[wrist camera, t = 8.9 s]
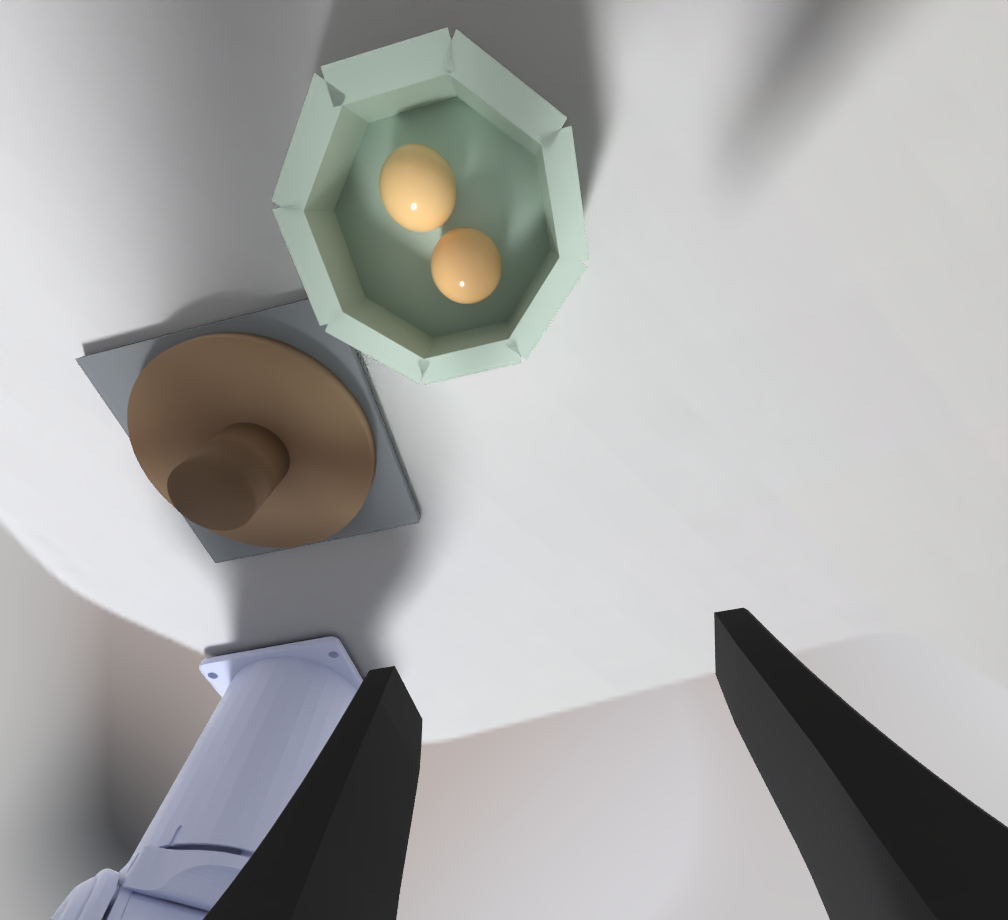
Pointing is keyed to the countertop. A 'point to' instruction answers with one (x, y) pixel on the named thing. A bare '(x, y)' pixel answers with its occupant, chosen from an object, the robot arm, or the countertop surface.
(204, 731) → the robot arm
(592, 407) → the countertop surface
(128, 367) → the mat
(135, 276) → the countertop surface
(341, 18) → the countertop surface
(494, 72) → the bowl
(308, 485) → the lid
